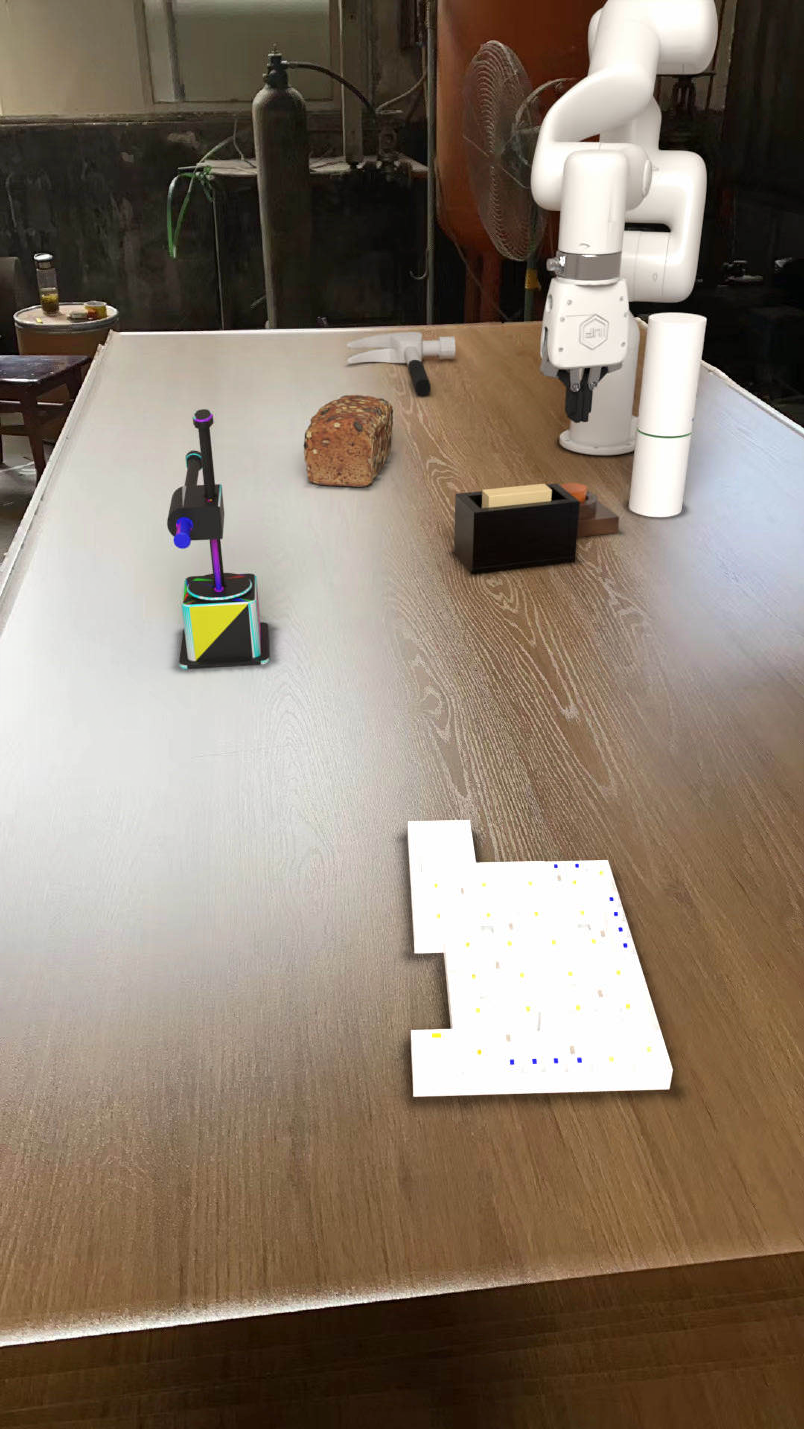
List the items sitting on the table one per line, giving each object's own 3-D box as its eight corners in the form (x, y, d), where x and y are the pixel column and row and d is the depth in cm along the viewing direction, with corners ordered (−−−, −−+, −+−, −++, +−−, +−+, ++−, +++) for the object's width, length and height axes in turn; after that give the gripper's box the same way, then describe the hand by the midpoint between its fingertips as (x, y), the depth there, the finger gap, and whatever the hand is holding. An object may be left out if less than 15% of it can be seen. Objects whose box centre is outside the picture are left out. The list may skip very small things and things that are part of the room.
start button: (578, 494, 144) (580, 481, 143) (590, 503, 141) (591, 490, 140) (553, 497, 143) (554, 484, 142) (564, 506, 140) (565, 493, 139)
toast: (540, 545, 136) (544, 483, 132) (548, 552, 134) (552, 489, 130) (480, 551, 134) (482, 489, 130) (486, 559, 132) (489, 496, 128)
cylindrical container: (684, 502, 152) (709, 314, 139) (678, 519, 146) (703, 325, 133) (632, 496, 154) (652, 311, 141) (624, 513, 148) (644, 321, 135)
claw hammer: (473, 371, 200) (452, 330, 225) (353, 374, 198) (346, 333, 223) (473, 400, 203) (452, 357, 228) (354, 404, 201) (346, 360, 226)
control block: (591, 512, 149) (594, 483, 146) (617, 532, 142) (620, 503, 140) (523, 519, 146) (525, 491, 144) (546, 541, 140) (548, 511, 138)
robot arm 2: (269, 678, 108) (251, 435, 96) (177, 683, 108) (146, 439, 95) (267, 578, 130) (251, 369, 117) (190, 582, 129) (166, 372, 116)
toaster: (553, 542, 139) (557, 483, 135) (575, 562, 134) (580, 501, 130) (453, 553, 136) (455, 493, 132) (472, 574, 130) (474, 512, 126)
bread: (373, 490, 157) (372, 421, 152) (301, 486, 158) (297, 417, 153) (396, 451, 172) (395, 387, 167) (330, 448, 174) (328, 385, 169)
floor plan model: (413, 1096, 64) (413, 1074, 63) (400, 838, 86) (400, 819, 85) (669, 1089, 65) (673, 1067, 64) (592, 834, 86) (594, 815, 85)
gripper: (542, 276, 125) (533, 433, 134) (660, 268, 128) (643, 422, 138) (518, 265, 131) (511, 416, 140) (631, 258, 134) (617, 406, 144)
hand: (577, 419), depth 139 cm, fingers closed
